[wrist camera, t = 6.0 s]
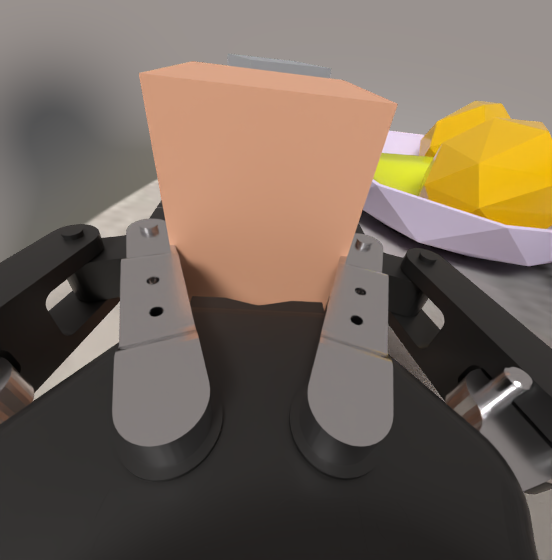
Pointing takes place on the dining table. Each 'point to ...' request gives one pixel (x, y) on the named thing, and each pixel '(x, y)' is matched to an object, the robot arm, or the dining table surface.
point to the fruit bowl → (470, 186)
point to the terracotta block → (261, 175)
